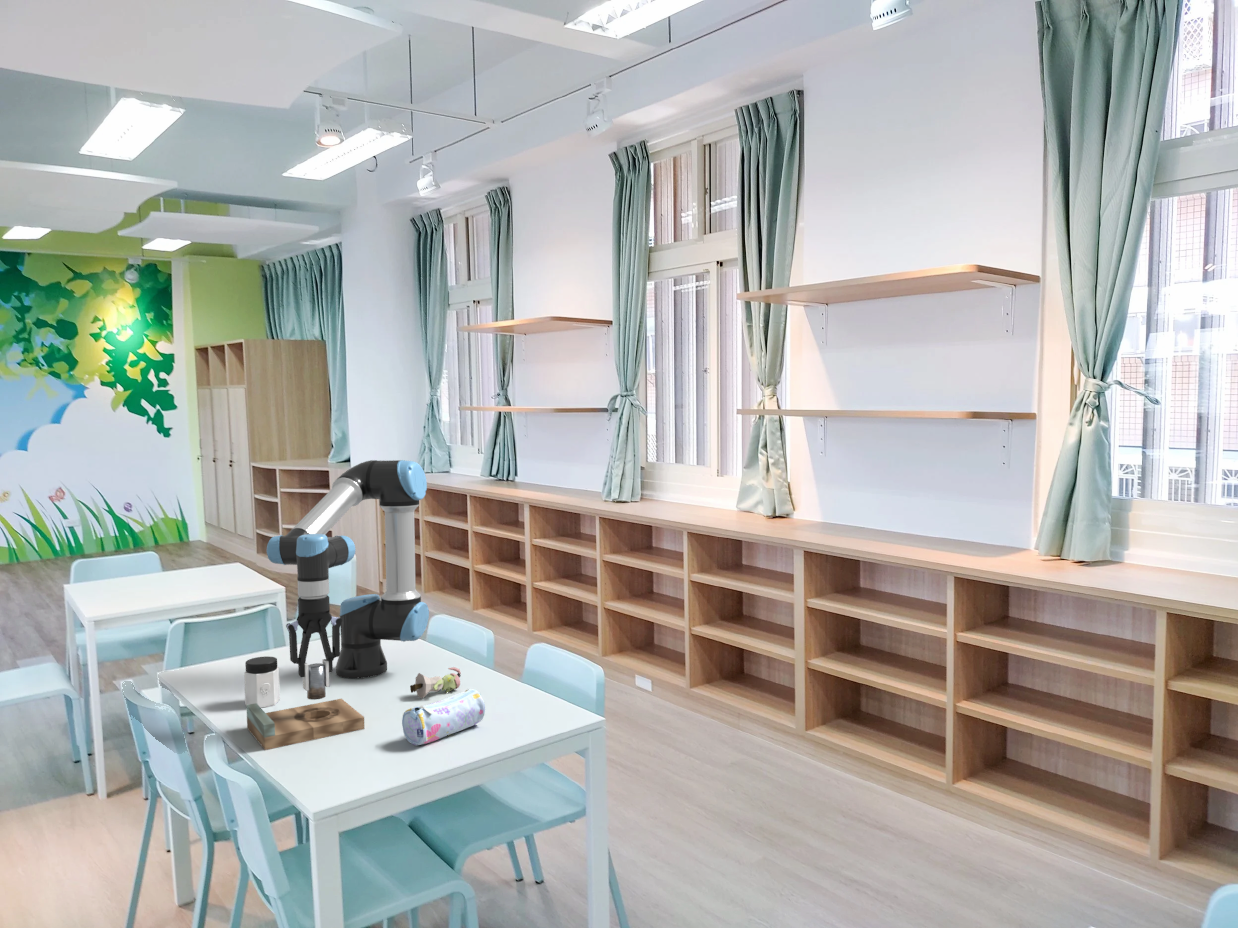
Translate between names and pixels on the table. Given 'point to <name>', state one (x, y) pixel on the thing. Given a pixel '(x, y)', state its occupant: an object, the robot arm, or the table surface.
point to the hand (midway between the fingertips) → (316, 687)
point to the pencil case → (443, 717)
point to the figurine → (436, 683)
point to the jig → (302, 723)
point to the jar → (262, 681)
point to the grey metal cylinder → (316, 681)
